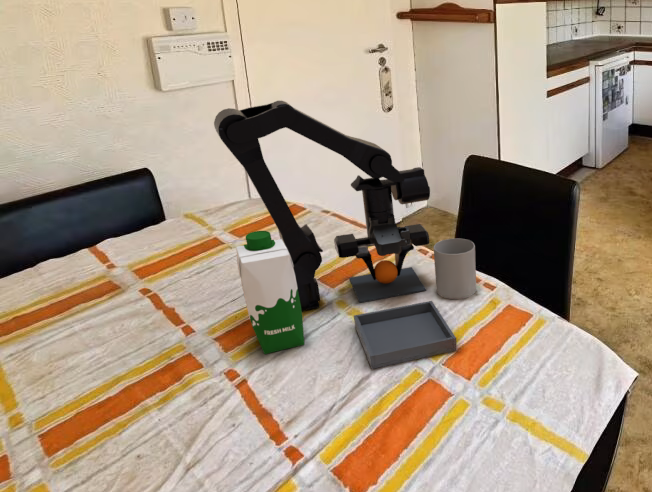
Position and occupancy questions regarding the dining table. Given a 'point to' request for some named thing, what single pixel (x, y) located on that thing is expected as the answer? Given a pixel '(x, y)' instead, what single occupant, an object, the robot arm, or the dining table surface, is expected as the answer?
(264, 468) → the dining table surface
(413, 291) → the mat
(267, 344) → the milk carton
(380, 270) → the ball
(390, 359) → the shallow grey tray
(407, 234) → the robot arm
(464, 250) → the cup
